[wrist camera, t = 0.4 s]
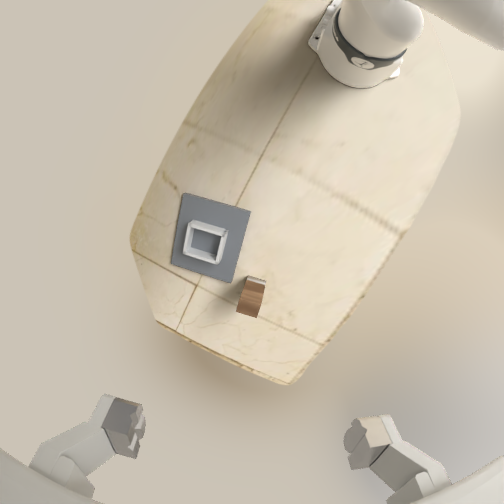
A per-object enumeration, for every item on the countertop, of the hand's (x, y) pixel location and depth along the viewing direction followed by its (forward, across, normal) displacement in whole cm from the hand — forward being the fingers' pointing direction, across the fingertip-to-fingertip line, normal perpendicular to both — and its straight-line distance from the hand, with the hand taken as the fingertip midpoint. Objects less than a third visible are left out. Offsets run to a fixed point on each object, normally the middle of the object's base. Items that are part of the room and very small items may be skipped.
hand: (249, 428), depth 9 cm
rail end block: (+48, -4, +15) cm, 51 cm away
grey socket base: (+49, +7, +7) cm, 50 cm away
